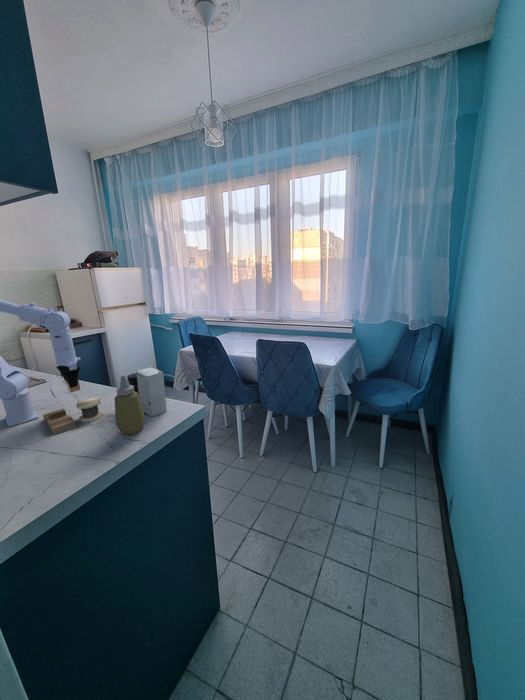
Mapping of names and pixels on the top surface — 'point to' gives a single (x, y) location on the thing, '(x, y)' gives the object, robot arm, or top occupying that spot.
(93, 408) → the spool
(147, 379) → the skincare box
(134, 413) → the squeeze bottle
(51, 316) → the robot arm
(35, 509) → the top surface
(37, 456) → the top surface
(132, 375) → the supplement bottle
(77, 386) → the brown wooden block
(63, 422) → the notched board
